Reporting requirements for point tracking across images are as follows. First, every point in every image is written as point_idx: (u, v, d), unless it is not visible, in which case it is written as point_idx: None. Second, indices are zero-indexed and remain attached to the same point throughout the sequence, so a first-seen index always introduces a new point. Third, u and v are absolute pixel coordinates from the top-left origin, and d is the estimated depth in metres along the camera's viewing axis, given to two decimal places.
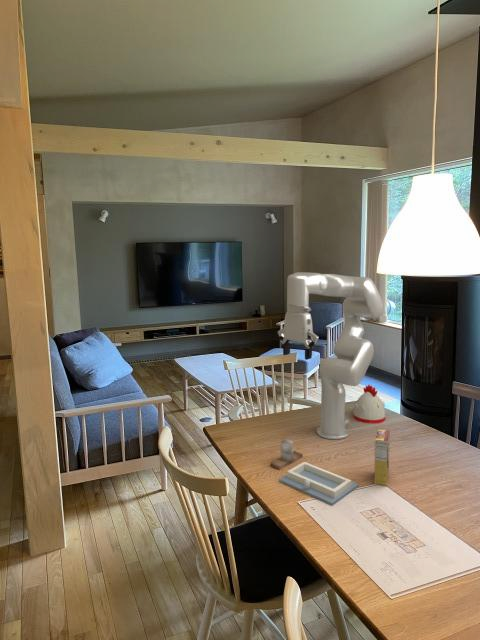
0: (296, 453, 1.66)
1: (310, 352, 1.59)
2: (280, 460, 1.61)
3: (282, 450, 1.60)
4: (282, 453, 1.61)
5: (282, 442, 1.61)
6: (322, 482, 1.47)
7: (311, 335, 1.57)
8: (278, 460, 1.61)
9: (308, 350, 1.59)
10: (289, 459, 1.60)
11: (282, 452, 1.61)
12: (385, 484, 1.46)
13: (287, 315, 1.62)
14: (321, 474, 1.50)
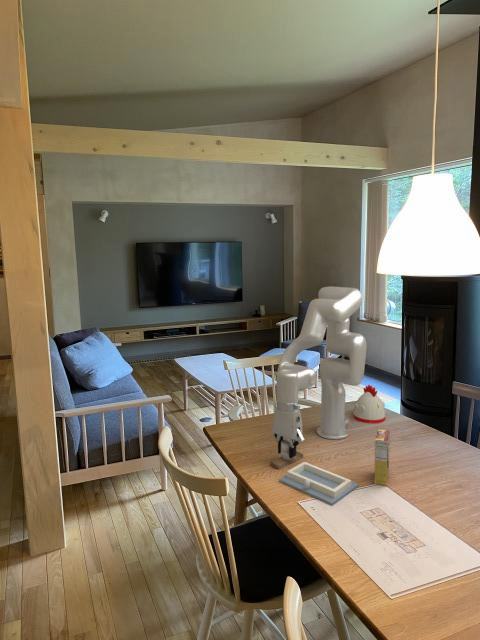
0: (297, 453, 1.66)
1: (294, 450, 1.59)
2: (280, 459, 1.61)
3: (282, 450, 1.60)
4: (282, 452, 1.61)
5: (282, 441, 1.62)
6: (322, 482, 1.47)
7: (298, 436, 1.57)
8: (278, 459, 1.61)
9: (292, 449, 1.59)
10: (289, 459, 1.60)
11: (282, 451, 1.61)
12: (385, 484, 1.46)
13: (277, 411, 1.60)
14: (321, 474, 1.50)
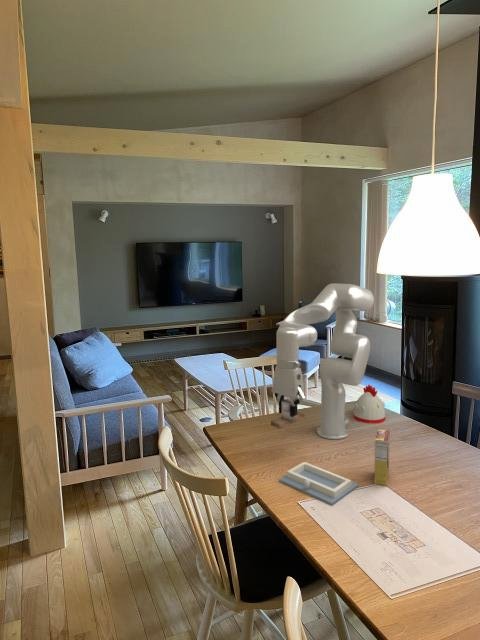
0: (298, 413, 1.64)
1: (295, 409, 1.57)
2: (281, 419, 1.59)
3: (283, 409, 1.58)
4: (282, 411, 1.59)
5: (283, 401, 1.59)
6: (322, 482, 1.47)
7: (299, 394, 1.54)
8: (279, 419, 1.59)
9: (293, 407, 1.57)
10: (290, 418, 1.58)
11: (283, 411, 1.59)
12: (385, 484, 1.46)
13: (277, 369, 1.58)
14: (321, 474, 1.50)
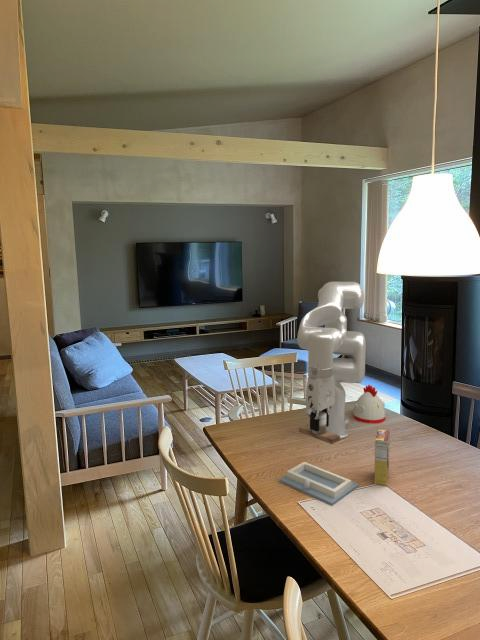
0: (333, 436, 1.41)
1: (312, 423, 1.41)
2: None
3: None
4: None
5: (319, 411, 1.45)
6: (322, 482, 1.47)
7: None
8: None
9: None
10: (312, 430, 1.44)
11: None
12: (385, 484, 1.46)
13: None
14: (321, 474, 1.50)
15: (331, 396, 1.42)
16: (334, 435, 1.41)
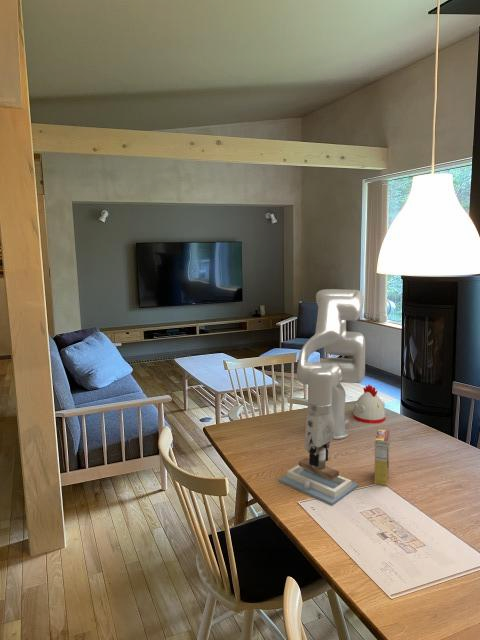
0: (332, 472, 1.42)
1: (312, 458, 1.43)
2: None
3: None
4: None
5: None
6: (322, 482, 1.47)
7: None
8: None
9: None
10: (312, 465, 1.46)
11: None
12: (385, 484, 1.46)
13: None
14: None
15: (330, 432, 1.44)
16: (333, 470, 1.43)
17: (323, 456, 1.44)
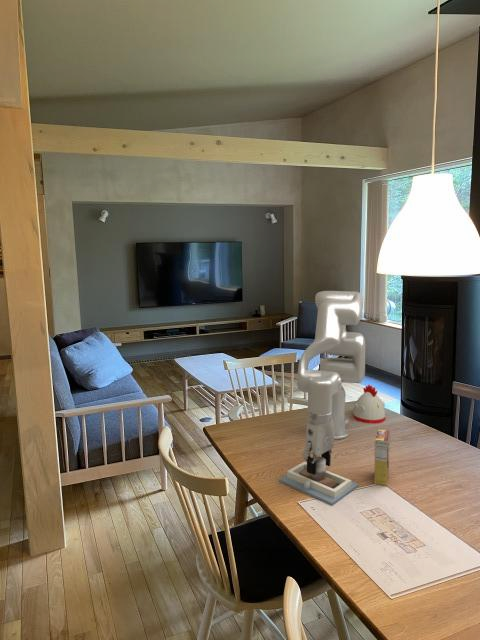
0: (332, 483, 1.43)
1: (309, 466, 1.43)
2: None
3: None
4: None
5: (318, 457, 1.48)
6: None
7: None
8: None
9: None
10: (312, 476, 1.46)
11: None
12: (385, 484, 1.46)
13: None
14: None
15: (330, 440, 1.45)
16: (333, 481, 1.44)
17: (323, 467, 1.45)
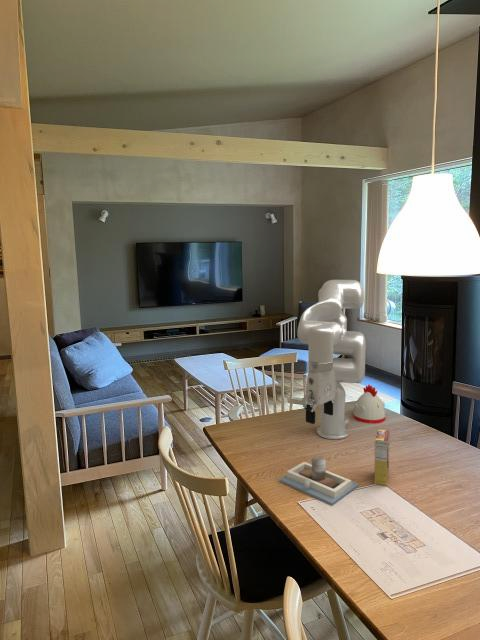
0: (332, 483, 1.43)
1: (308, 415, 1.39)
2: None
3: None
4: None
5: (318, 457, 1.48)
6: None
7: None
8: None
9: None
10: (312, 476, 1.46)
11: None
12: (385, 484, 1.46)
13: None
14: None
15: (331, 390, 1.42)
16: (333, 481, 1.44)
17: (323, 467, 1.45)
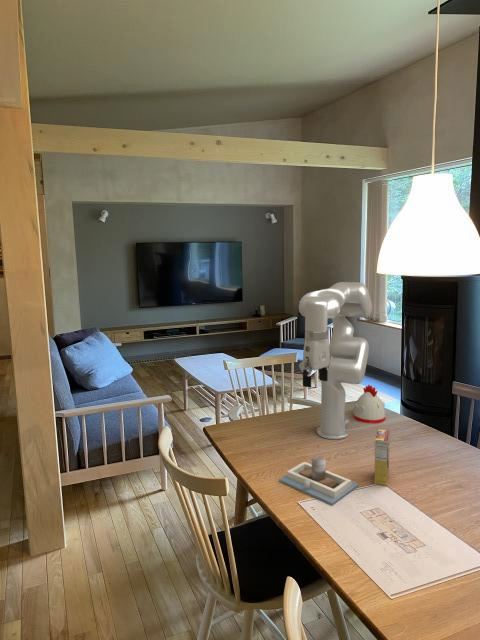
0: (332, 483, 1.43)
1: (305, 380, 1.55)
2: None
3: None
4: None
5: (318, 457, 1.48)
6: None
7: None
8: None
9: None
10: (312, 476, 1.46)
11: None
12: (385, 484, 1.46)
13: None
14: None
15: (326, 357, 1.58)
16: (333, 481, 1.44)
17: (323, 467, 1.45)
